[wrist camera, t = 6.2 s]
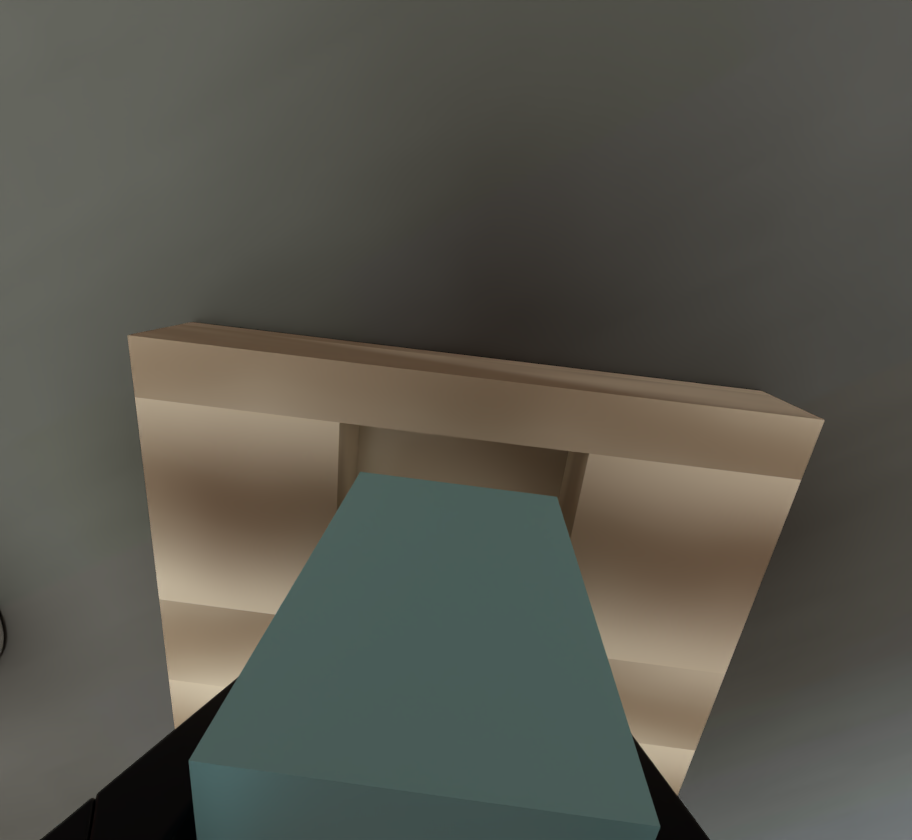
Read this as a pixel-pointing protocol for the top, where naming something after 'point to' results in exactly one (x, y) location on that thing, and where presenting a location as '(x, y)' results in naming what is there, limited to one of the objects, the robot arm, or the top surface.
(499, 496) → the teal block
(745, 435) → the pocket board
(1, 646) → the beer glass
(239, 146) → the top surface
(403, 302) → the top surface
